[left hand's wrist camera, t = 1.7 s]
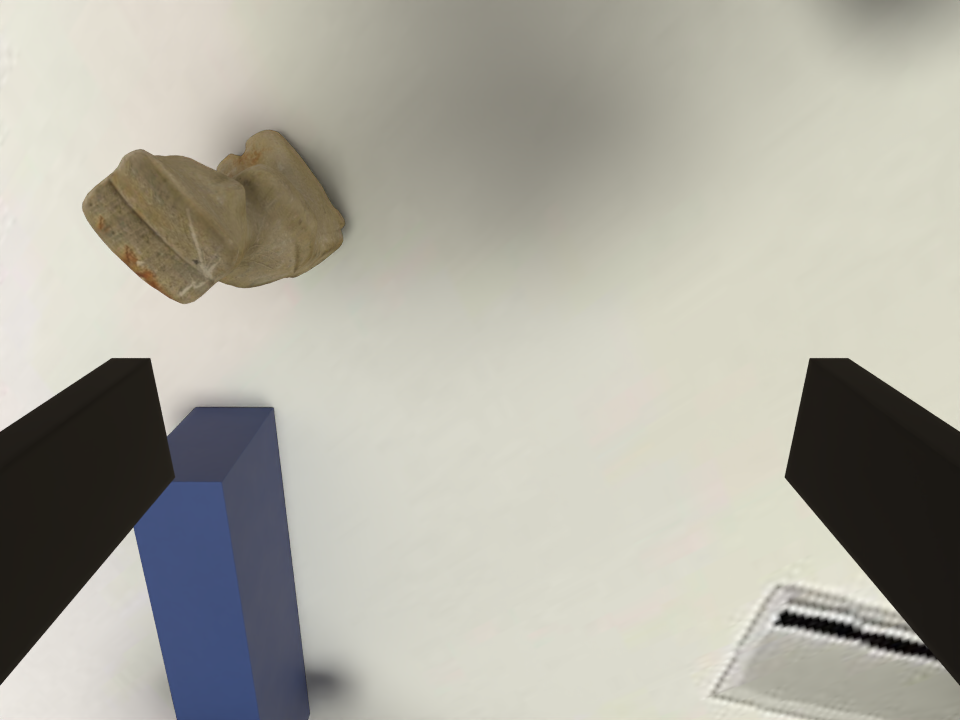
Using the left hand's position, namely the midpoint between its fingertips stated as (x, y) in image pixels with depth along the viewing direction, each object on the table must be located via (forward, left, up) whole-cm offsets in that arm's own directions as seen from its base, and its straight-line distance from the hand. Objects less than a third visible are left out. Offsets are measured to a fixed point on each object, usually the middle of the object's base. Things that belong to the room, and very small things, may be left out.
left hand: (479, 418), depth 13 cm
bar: (+28, -8, -25) cm, 39 cm away
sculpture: (+1, -10, -25) cm, 27 cm away
